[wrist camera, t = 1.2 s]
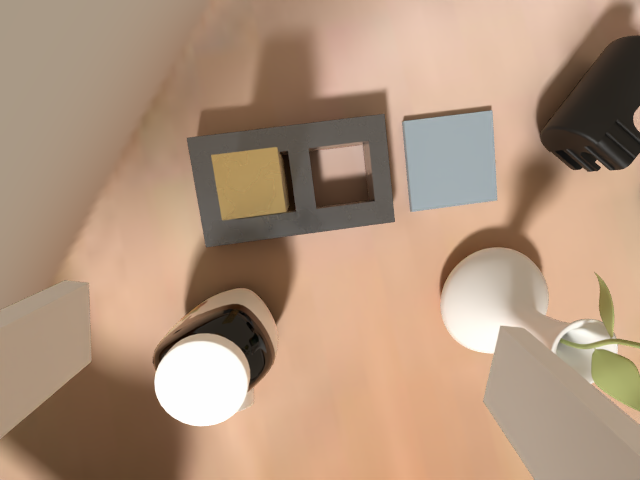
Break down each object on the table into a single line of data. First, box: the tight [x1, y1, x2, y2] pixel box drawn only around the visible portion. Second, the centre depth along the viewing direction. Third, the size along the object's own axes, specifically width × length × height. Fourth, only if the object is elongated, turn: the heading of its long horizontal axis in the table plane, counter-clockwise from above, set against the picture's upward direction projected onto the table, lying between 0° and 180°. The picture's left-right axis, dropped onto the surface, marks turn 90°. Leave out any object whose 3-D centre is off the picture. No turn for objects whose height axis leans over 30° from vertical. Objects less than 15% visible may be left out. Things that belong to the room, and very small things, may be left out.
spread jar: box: [153, 288, 278, 426], centre depth 33 cm, size 12×11×12 cm
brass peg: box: [211, 147, 290, 220], centre depth 30 cm, size 4×4×12 cm
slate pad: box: [402, 110, 497, 212], centre depth 37 cm, size 9×9×1 cm
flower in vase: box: [440, 247, 640, 411], centre depth 27 cm, size 13×11×25 cm
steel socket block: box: [187, 114, 395, 247], centre depth 35 cm, size 18×10×3 cm, turn 97°
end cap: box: [540, 36, 640, 172], centre depth 34 cm, size 10×7×7 cm
